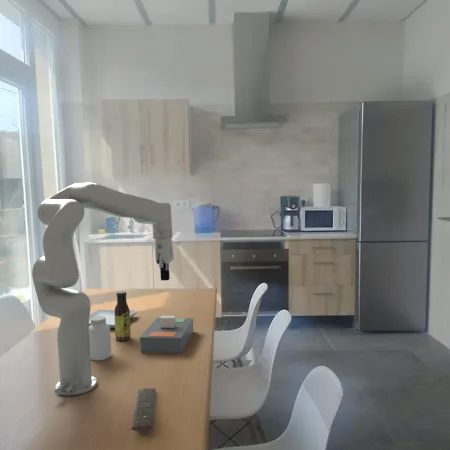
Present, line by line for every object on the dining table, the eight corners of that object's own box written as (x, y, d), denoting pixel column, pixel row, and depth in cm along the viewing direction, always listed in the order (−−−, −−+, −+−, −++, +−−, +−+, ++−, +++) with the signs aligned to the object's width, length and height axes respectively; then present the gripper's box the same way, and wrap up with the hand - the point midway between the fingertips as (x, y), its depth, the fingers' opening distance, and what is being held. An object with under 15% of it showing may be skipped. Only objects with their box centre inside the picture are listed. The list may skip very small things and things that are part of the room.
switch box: (181, 353, 163) (180, 337, 163) (140, 352, 165) (139, 336, 165) (193, 331, 187) (192, 317, 186) (157, 331, 189) (157, 317, 188)
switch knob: (174, 327, 174) (174, 318, 173) (160, 327, 174) (159, 317, 174) (176, 325, 177) (175, 315, 176) (161, 325, 177) (161, 315, 177)
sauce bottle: (126, 342, 177) (124, 294, 175) (112, 341, 178) (110, 294, 176) (133, 336, 183) (131, 290, 181) (119, 335, 184) (117, 290, 182)
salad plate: (75, 329, 195) (74, 321, 195) (99, 315, 216) (99, 308, 215) (117, 332, 190) (117, 324, 190) (138, 317, 211) (138, 310, 210)
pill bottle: (89, 362, 157) (86, 322, 155) (89, 354, 165) (87, 316, 163) (111, 359, 159) (109, 320, 158) (111, 351, 167) (109, 313, 165)
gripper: (167, 236, 161) (169, 284, 163) (176, 231, 176) (178, 275, 178) (147, 237, 162) (150, 284, 164) (158, 231, 177) (161, 275, 179)
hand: (165, 279), depth 171 cm, fingers closed
